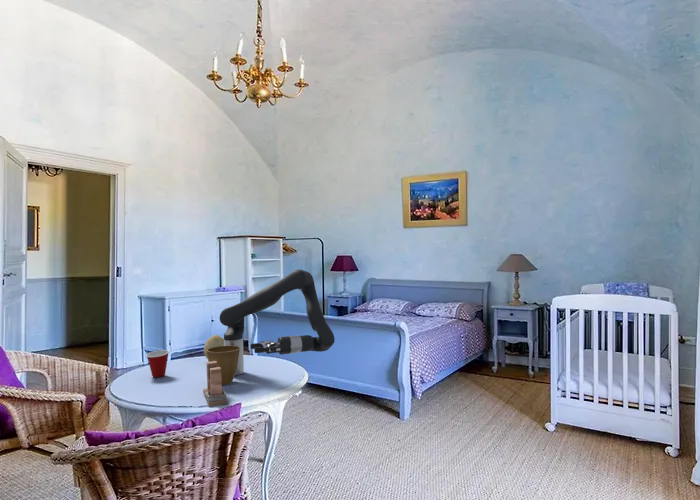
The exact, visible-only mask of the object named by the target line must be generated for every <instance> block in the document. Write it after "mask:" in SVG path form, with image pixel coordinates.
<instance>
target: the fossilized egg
mask: <svg viewBox="0 0 700 500" xmlns="http://www.w3.org/2000/svg"><path fill="white" fill-rule="evenodd" d="M217 346H224V337H222V336H221V335H219V334H212V335H211V336H210V337H209V338H207V340H206V342H205V344H204V347H203V353H204V356H205V358H206V359H207V360H208V356H207V349H208V348H212V347H217Z"/></svg>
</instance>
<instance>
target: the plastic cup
mask: <svg viewBox="0 0 700 500" xmlns="http://www.w3.org/2000/svg"><path fill="white" fill-rule="evenodd" d="M169 353H170V350H167V349H165V350H164V349H160V350H154V351H150V352H148V353H145V357H146V358H147V361H148V364H149V369H150V373H151V377H152V376H153V377H160V378H163V377H165V375H166V371H167V366H168V365H167V364H168V358H169ZM153 377H152V378H153Z"/></svg>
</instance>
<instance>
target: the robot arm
mask: <svg viewBox="0 0 700 500" xmlns="http://www.w3.org/2000/svg"><path fill="white" fill-rule="evenodd" d="M294 290H300V292H301V293H302V294H303V296H304V299H305V303H306V305H305V306H306V314H307V318H308V321H309V325H310V326H311V329H312V331H314V332H316V334H317V335H318V336H312V335H309V334H308V335H307V334H305V335H288V336H278V338H277V341H275V340H261V341H259V342H257V343H255V342H254V343H250V350H253V351H254V352H253V353H254V354H262V353H264V354H266V355H267V354H276V353H278V354H279V355H281V356H282V355H291V354H298V353H304V352H305V353H306V352H321V353H322V352H326V351H328V350H330V348H331V347H333V346H334V344H335V335H334V332H333V330H332V329H331V328H330V326H329V325H328V323H327V320H326V318H325V315H324V313H323V310H322V308H321V304H320V301H319V298H318V294H317V290H316V286H315V280H314V277H313V275H312V274H311V272H308V271H306V270H303V269H295V270H293V271H291V272H290V273H288V274H287V275H286V276H284V277H282V278H281V279H279V280H277V281H276V282H273V283H272V284H269V285H267V286H266V287H264V288H262V289H260V290H258V291H256V292H255V293H253V294H251V295H250V296H248V297H246V298H245V299H244V300H242V301H240V302H238V303H236V304H234V305H231V306H228V307H226V308H224V309H223V310H222V311H220V314H219V321H220V323H221V325H223V326H226V327H227V329H226V330H225V332H224V334H223V339H224V346H238V347H240V351H239V358H238V363H237V368H236V372H235V375H234V376H238V375H242V374H244V372H245V368H244V367H245V365H244V363H245V362H244V338H243V337H244V333H245V317H247V316H249V315H253V314H256V313H259V312H262V311H264V310H266V309H268V308H270V307H272V306H274V305H276V303H278V302H279V301H280V299H282V297H283V296H284V295H286V294H287V293H290V292H292V291H294Z"/></svg>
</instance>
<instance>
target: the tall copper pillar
mask: <svg viewBox="0 0 700 500" xmlns="http://www.w3.org/2000/svg"><path fill="white" fill-rule="evenodd" d="M222 387H223V385H222V380H221V368H220V367H216V368H210V391H211V396H214V395H221V394H222V390H223V388H222Z"/></svg>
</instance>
